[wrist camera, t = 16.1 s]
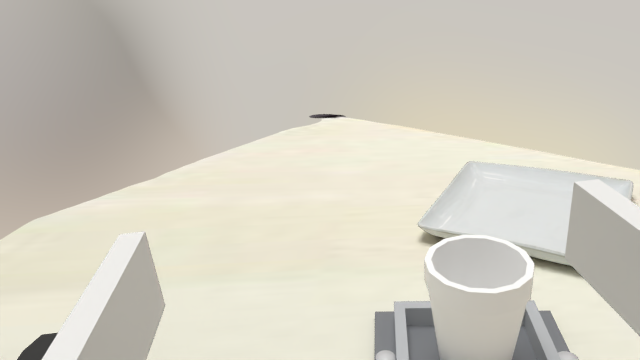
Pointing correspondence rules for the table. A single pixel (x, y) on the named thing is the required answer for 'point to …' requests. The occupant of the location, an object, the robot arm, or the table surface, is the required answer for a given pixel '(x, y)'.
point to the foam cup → (477, 295)
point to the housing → (421, 344)
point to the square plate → (512, 206)
